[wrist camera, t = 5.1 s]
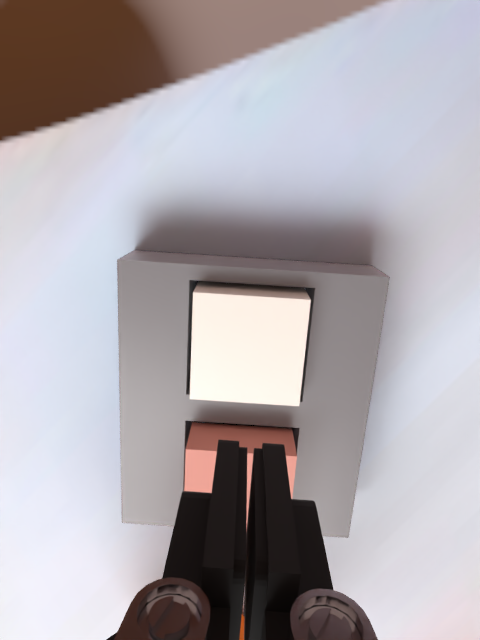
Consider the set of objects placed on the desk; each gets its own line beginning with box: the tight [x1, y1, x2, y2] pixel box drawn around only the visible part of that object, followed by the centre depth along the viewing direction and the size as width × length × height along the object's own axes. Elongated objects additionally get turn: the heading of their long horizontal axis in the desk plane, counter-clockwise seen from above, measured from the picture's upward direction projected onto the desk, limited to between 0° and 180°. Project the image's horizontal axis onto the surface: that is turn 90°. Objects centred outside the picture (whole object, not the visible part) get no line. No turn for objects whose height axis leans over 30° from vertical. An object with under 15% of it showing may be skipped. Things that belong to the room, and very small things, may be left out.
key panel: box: [117, 250, 390, 538], centre depth 23 cm, size 12×14×3 cm
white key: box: [190, 281, 311, 406], centre depth 21 cm, size 5×5×2 cm
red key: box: [184, 422, 297, 531], centre depth 22 cm, size 5×5×2 cm
